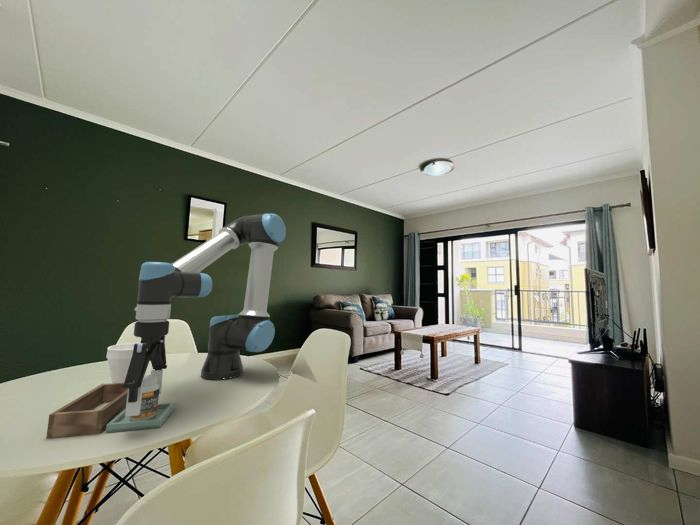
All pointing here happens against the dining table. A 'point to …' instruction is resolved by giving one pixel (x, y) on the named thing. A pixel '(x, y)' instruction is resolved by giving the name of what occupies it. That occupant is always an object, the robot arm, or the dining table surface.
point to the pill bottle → (148, 398)
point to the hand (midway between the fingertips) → (144, 404)
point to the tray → (127, 424)
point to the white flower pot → (119, 361)
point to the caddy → (88, 412)
